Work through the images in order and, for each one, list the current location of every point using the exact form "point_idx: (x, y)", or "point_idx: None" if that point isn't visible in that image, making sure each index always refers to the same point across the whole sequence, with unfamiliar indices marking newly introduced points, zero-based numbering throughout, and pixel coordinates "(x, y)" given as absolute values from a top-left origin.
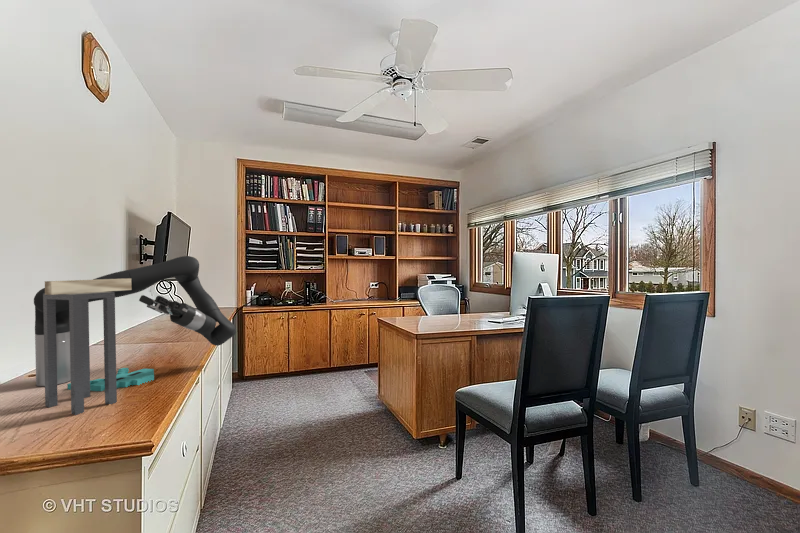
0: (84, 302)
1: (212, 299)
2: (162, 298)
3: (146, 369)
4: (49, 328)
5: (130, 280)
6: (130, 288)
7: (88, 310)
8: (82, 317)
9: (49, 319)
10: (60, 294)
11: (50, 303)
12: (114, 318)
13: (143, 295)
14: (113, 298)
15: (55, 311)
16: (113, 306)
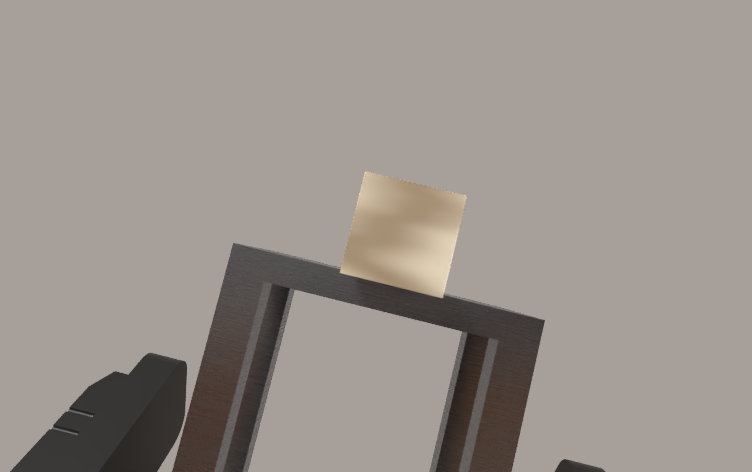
0: (485, 371)
1: None
2: (85, 399)
3: None
4: (437, 443)
5: (362, 189)
6: (343, 259)
7: (477, 426)
8: (464, 454)
9: (445, 405)
10: None
11: (462, 341)
12: (194, 392)
13: (564, 461)
14: (226, 279)
15: (456, 379)
16: (213, 323)
